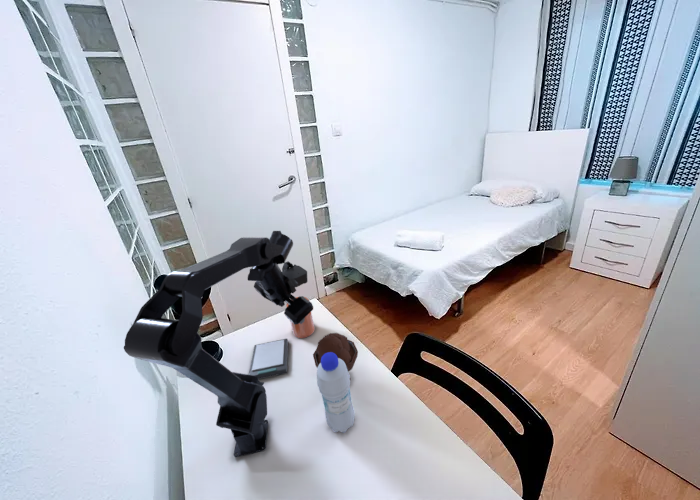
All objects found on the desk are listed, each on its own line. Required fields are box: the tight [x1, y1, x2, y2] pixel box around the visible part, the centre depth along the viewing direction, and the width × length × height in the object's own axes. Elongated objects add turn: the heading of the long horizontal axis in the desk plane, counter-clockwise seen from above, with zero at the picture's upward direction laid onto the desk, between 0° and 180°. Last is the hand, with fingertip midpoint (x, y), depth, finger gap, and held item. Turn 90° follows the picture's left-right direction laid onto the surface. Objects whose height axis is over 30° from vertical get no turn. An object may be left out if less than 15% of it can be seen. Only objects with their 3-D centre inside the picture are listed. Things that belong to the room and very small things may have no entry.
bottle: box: [316, 352, 355, 434], centre depth 58 cm, size 7×7×20 cm
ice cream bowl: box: [312, 332, 359, 381], centre depth 69 cm, size 11×11×15 cm
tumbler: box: [285, 296, 316, 339], centre depth 88 cm, size 7×7×11 cm
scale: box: [248, 338, 289, 380], centre depth 80 cm, size 12×10×2 cm
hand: (292, 313), depth 78 cm, fingers open, 9 cm apart
